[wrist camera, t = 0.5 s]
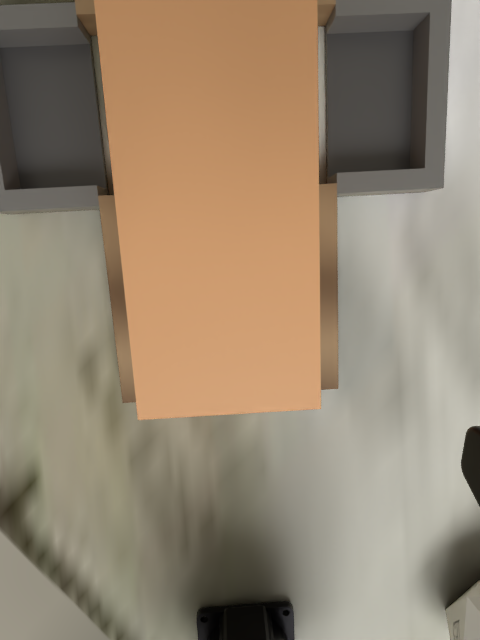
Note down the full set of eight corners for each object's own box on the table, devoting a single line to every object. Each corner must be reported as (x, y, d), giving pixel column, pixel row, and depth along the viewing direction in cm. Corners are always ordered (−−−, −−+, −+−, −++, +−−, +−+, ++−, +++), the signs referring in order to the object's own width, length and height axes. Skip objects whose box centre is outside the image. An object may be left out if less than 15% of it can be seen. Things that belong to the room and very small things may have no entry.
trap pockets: (424, 192, 23) (443, 187, 21) (8, 214, 22) (-13, 212, 20) (430, 10, 21) (452, -13, 19) (-22, 28, 20) (-48, 7, 18)
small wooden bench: (329, 376, 25) (348, 402, 21) (130, 389, 24) (113, 418, 21) (323, -164, 19) (348, -265, 15) (68, -156, 19) (28, -258, 15)
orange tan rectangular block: (286, 347, 24) (320, 408, 16) (169, 353, 24) (138, 419, 15) (278, 72, 22) (316, -43, 13) (145, 77, 21) (90, -36, 12)
